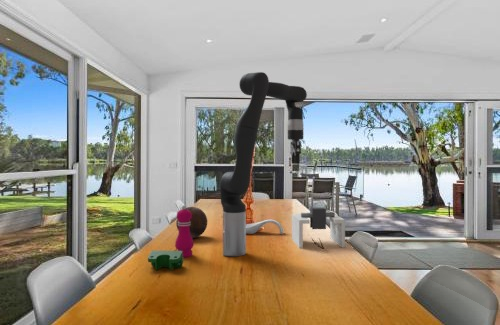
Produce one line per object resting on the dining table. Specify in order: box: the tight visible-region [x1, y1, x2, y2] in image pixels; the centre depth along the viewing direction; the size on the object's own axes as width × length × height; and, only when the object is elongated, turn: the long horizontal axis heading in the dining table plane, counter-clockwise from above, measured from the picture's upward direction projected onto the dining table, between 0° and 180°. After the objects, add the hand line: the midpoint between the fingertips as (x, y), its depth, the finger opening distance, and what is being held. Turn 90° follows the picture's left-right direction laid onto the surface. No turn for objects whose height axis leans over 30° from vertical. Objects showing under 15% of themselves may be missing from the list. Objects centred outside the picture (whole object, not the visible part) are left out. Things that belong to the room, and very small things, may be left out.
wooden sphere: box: [175, 206, 208, 239], centre depth 189 cm, size 15×15×15 cm
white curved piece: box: [246, 218, 284, 235], centre depth 201 cm, size 24×12×7 cm, turn 79°
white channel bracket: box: [291, 212, 346, 249], centre depth 177 cm, size 20×18×14 cm
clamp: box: [147, 249, 184, 272], centre depth 137 cm, size 12×6×9 cm, turn 80°
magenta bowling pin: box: [174, 205, 195, 258], centre depth 155 cm, size 7×7×20 cm
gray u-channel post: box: [309, 207, 327, 230], centre depth 176 cm, size 6×5×9 cm
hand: (295, 163), depth 187 cm, fingers open, 8 cm apart
